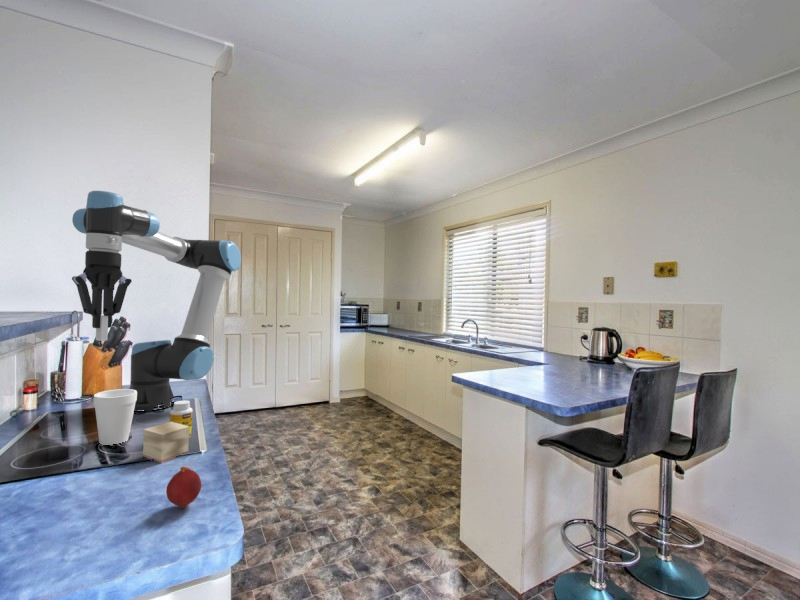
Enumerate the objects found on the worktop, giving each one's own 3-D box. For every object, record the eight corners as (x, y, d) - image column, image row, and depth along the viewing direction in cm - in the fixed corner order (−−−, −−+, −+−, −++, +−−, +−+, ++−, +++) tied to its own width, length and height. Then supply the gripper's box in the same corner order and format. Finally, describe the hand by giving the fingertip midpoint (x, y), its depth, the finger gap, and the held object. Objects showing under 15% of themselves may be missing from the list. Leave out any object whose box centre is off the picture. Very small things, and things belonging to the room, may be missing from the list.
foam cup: (111, 449, 98) (113, 399, 98) (82, 445, 100) (84, 395, 100) (143, 437, 107) (145, 390, 107) (116, 433, 109) (118, 387, 109)
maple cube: (144, 429, 94) (142, 457, 94) (162, 434, 91) (161, 463, 91) (171, 421, 101) (170, 448, 101) (189, 426, 98) (188, 453, 98)
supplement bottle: (181, 443, 104) (183, 405, 104) (163, 441, 105) (165, 403, 105) (196, 436, 109) (197, 400, 109) (179, 434, 110) (180, 398, 110)
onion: (179, 497, 77) (181, 458, 77) (206, 500, 76) (208, 460, 76) (158, 513, 71) (160, 470, 71) (187, 517, 70) (189, 473, 70)
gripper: (81, 248, 93) (78, 344, 94) (138, 253, 105) (135, 339, 105) (66, 248, 97) (64, 341, 97) (123, 254, 108) (121, 337, 109)
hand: (101, 340), depth 101 cm, fingers closed
